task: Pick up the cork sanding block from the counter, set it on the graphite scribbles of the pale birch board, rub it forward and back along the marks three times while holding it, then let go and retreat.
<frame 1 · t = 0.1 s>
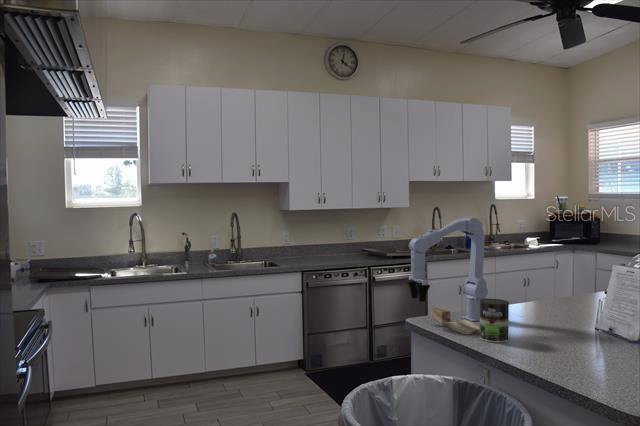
hand: (418, 299, 211), 10 cm above the counter, fingers open, 7 cm apart
coffee can: (494, 339, 187), on the counter
sanding block: (441, 321, 216), on the counter
board: (465, 328, 203), on the counter
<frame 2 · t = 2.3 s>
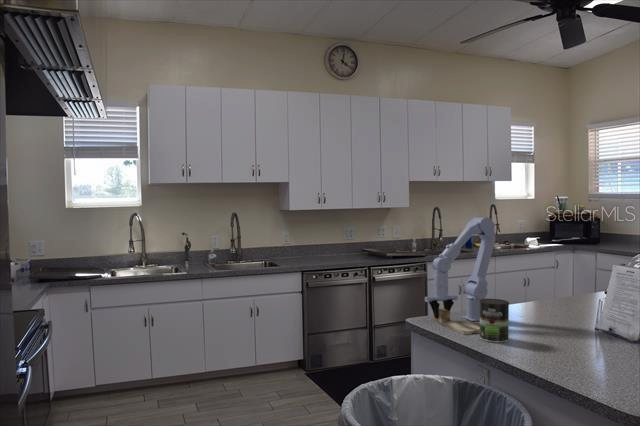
hand: (441, 317, 216), 1 cm above the counter, fingers closed on sanding block, 4 cm apart
sanding block: (441, 321, 216), on the counter, touching gripper
everything else where it was.
when the fingers open (8 cm above the counter, at t = 3.7 s): sanding block drops 2 cm, resting on board.
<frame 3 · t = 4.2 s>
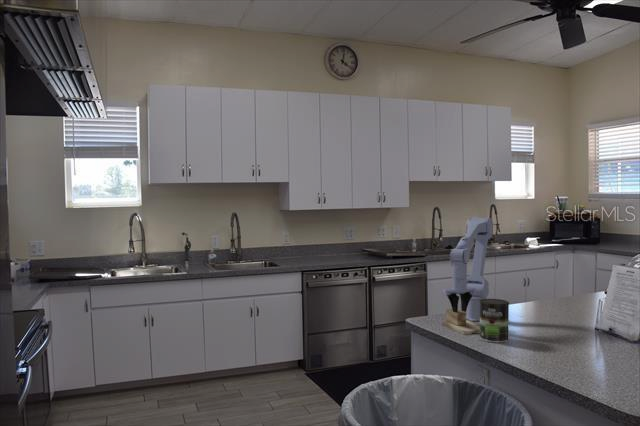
hand: (459, 311, 206), 6 cm above the counter, fingers open, 4 cm apart
sanding block: (456, 323, 207), point 1 cm above the counter, touching board, gripper
everything else where it was.
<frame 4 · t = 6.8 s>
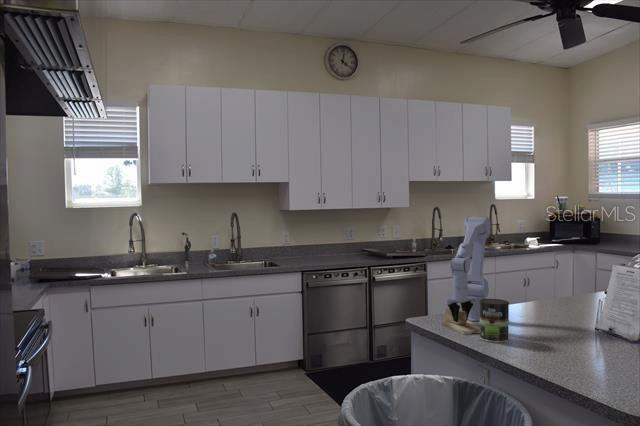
hand: (460, 320, 205), 3 cm above the counter, fingers closed on sanding block, 4 cm apart
sanding block: (456, 322, 208), point 1 cm above the counter, touching gripper
everything else where it was.
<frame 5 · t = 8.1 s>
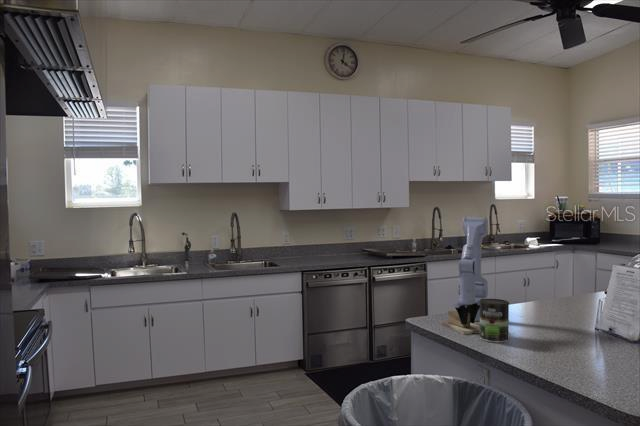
hand: (467, 323, 200), 3 cm above the counter, fingers closed on sanding block, 4 cm apart
sanding block: (459, 324, 204), point 1 cm above the counter, touching gripper
everything else where it was.
when the fingers open (3 cm above the counter, at t = 9.0 s): sanding block stays where it is, resting on board.
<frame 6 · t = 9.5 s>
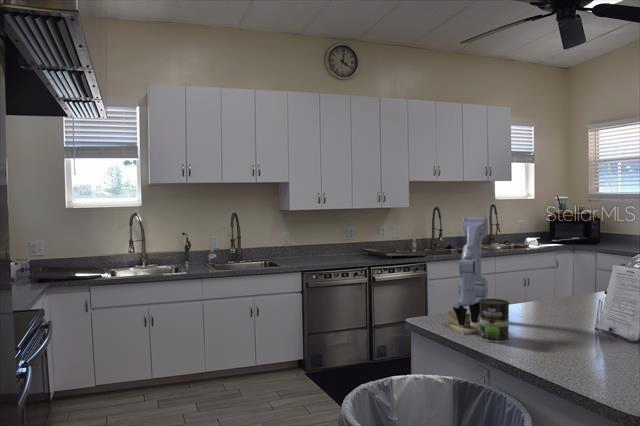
hand: (467, 323, 200), 3 cm above the counter, fingers open, 7 cm apart
sanding block: (459, 324, 204), point 1 cm above the counter, touching board
everything else where it was.
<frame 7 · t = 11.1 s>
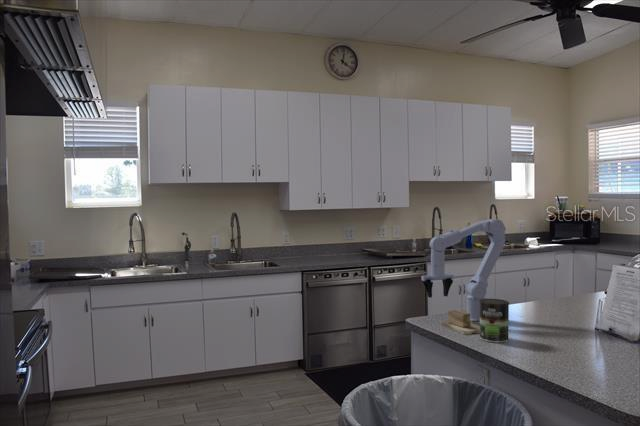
hand: (437, 296, 218), 10 cm above the counter, fingers open, 7 cm apart
nothing on the counter moved.
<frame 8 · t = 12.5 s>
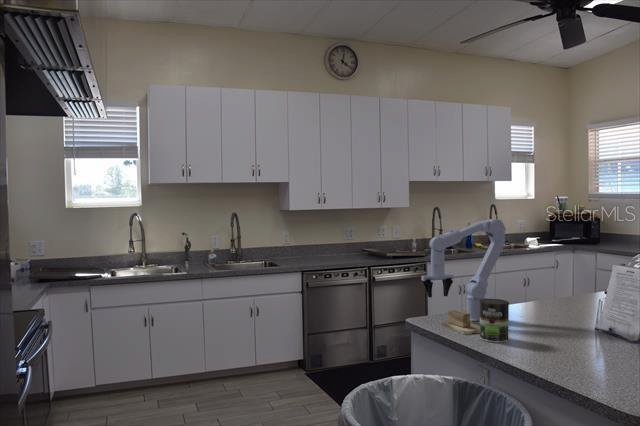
hand: (437, 296, 218), 10 cm above the counter, fingers open, 7 cm apart
nothing on the counter moved.
at the end: sanding block inside the target area (4.7 cm from its centre), point 1.2 cm above the counter; sanding block tilted 0°; sanding block moved 12.6 cm from its start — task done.
